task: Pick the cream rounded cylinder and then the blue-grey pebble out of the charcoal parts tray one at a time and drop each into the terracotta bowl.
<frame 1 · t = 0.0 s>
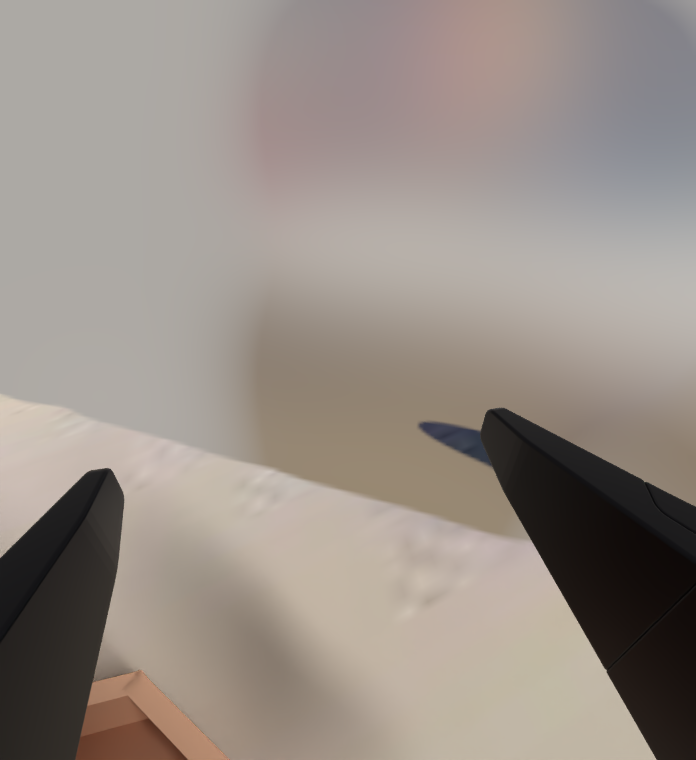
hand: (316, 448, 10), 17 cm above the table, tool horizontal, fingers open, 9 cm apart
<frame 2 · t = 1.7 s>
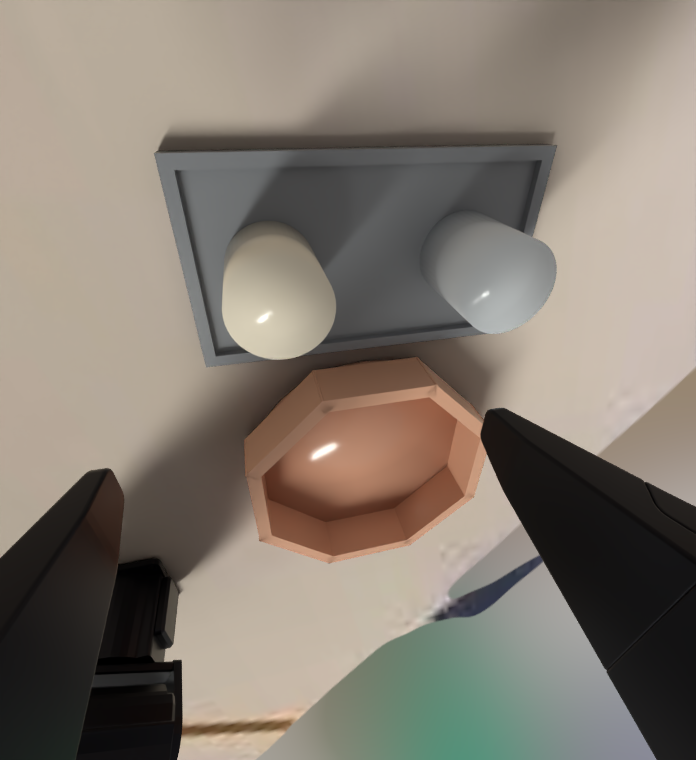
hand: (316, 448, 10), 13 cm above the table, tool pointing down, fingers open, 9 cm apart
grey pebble: (458, 253, 21), resting on parts tray
parts tray: (367, 257, 21), on the table
terracotta bowl: (360, 448, 29), on the table
cream rounded cylinder: (270, 267, 19), resting on parts tray
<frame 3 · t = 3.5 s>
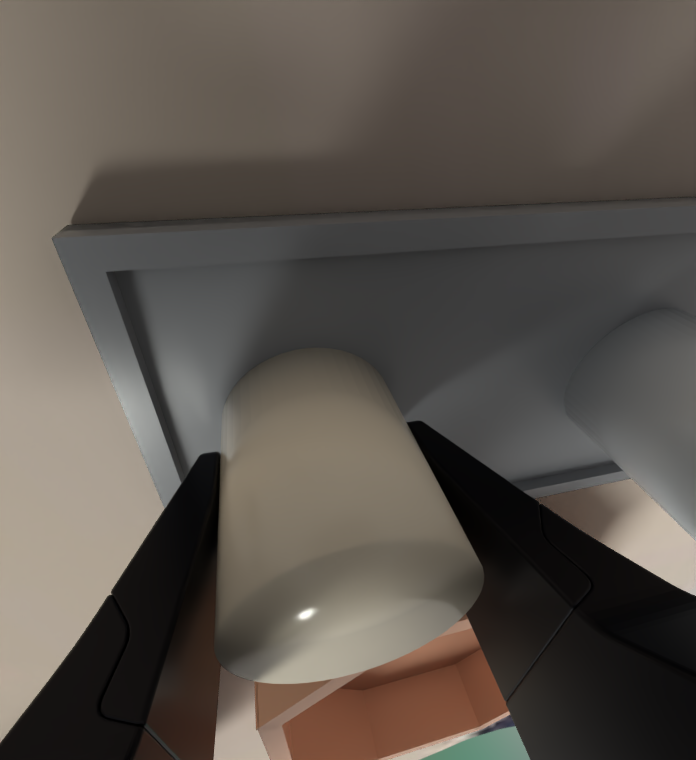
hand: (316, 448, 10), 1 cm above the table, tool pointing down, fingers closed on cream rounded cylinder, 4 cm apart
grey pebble: (629, 373, 12), resting on parts tray
parts tray: (476, 386, 12), on the table
terracotta bowl: (420, 610, 20), on the table
cream rounded cylinder: (309, 420, 10), resting on parts tray, touching gripper
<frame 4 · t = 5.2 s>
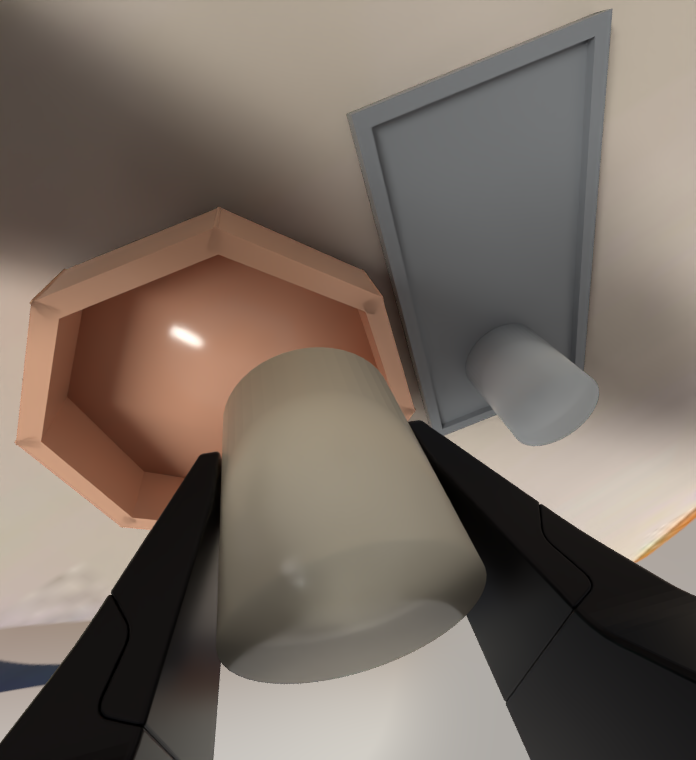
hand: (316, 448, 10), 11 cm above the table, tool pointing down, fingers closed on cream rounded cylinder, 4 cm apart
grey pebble: (501, 357, 23), resting on parts tray
parts tray: (490, 278, 20), on the table
terracotta bowl: (237, 379, 20), on the table
cream rounded cylinder: (311, 420, 10), point 10 cm above the table, touching gripper
when the fingers open (4 cm above the table, at t = 7.2 s): cream rounded cylinder drops 2 cm, resting on terracotta bowl.
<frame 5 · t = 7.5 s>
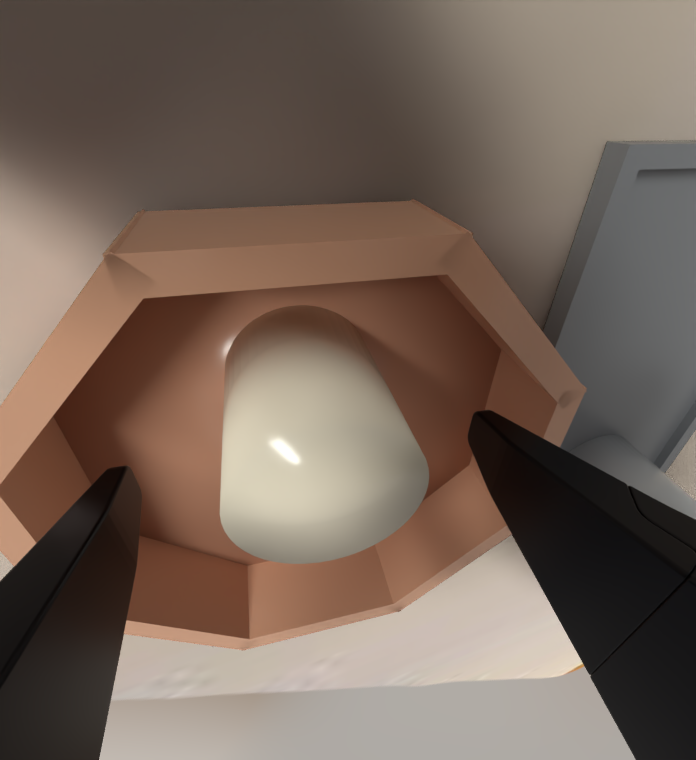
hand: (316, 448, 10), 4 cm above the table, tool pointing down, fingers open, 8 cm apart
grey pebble: (587, 467, 20), resting on parts tray
parts tray: (623, 382, 17), on the table
terracotta bowl: (301, 430, 14), on the table
cream rounded cylinder: (299, 371, 12), point 1 cm above the table, touching terracotta bowl
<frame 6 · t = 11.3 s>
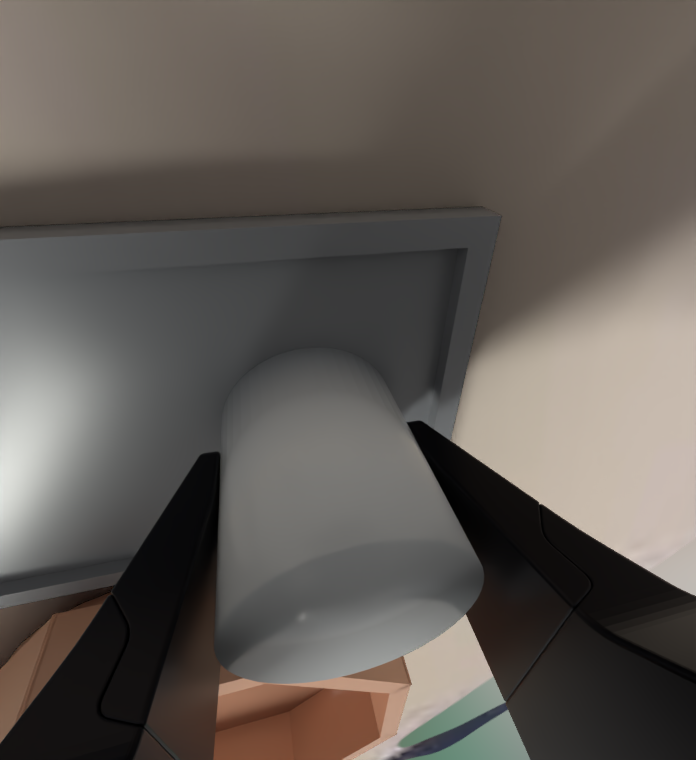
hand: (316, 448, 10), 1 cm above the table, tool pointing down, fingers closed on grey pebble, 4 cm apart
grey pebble: (309, 420, 10), resting on parts tray, touching gripper
parts tray: (104, 439, 10), on the table
terracotta bowl: (212, 663, 18), on the table
when the fingers open (4 cm above the table, at t = 14.9 s): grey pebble drops 2 cm, resting on terracotta bowl.
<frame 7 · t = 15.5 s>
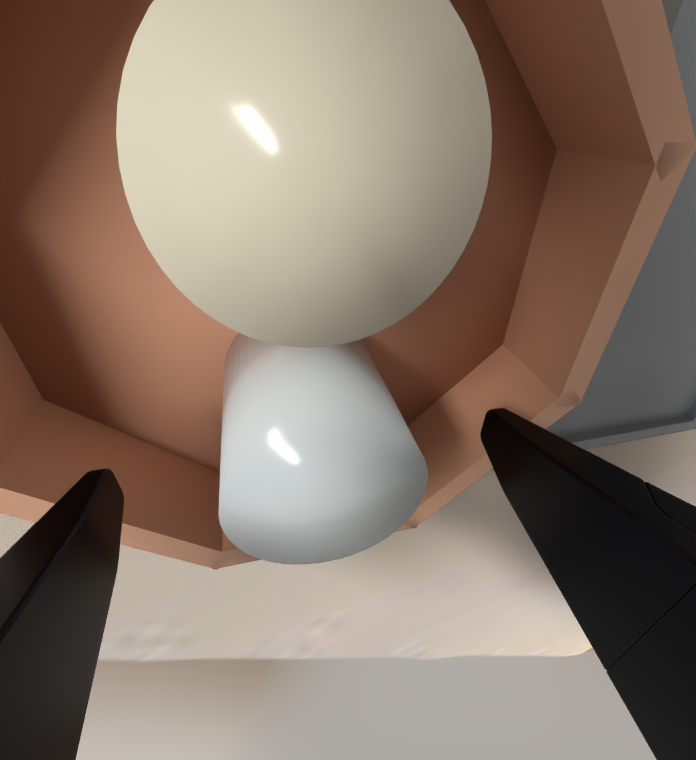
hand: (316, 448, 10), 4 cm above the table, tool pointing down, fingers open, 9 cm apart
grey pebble: (298, 371, 12), point 1 cm above the table, touching terracotta bowl
parts tray: (695, 241, 14), on the table
terracotta bowl: (289, 270, 11), on the table
cream rounded cylinder: (282, 146, 9), point 1 cm above the table, touching terracotta bowl
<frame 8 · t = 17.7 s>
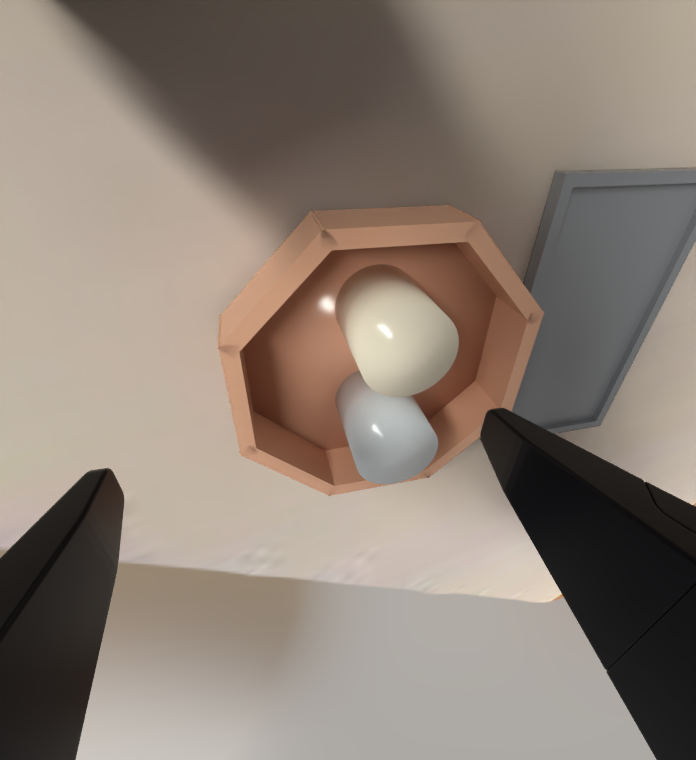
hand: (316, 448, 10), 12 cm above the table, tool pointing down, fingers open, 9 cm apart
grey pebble: (370, 396, 24), point 1 cm above the table, touching terracotta bowl
parts tray: (578, 325, 26), on the table
terracotta bowl: (370, 349, 23), on the table
cream rounded cylinder: (376, 305, 21), point 1 cm above the table, touching terracotta bowl
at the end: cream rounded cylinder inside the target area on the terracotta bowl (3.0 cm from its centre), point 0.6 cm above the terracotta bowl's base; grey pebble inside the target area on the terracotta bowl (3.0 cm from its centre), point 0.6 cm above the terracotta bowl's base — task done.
